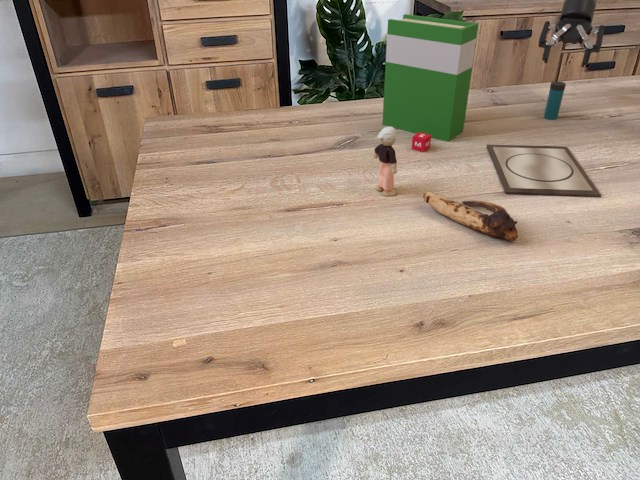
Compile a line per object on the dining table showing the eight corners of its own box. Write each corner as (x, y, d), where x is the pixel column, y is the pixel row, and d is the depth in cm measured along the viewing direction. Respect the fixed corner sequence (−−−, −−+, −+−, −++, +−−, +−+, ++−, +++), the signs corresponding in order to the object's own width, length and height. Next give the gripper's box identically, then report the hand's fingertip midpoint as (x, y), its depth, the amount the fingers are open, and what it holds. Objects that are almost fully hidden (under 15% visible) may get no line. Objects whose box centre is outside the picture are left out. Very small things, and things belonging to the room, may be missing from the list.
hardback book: (382, 124, 130) (388, 19, 116) (398, 115, 134) (405, 14, 121) (448, 141, 120) (462, 29, 107) (463, 131, 125) (478, 23, 112)
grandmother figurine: (405, 194, 100) (411, 130, 93) (390, 200, 98) (394, 135, 91) (379, 179, 105) (382, 118, 98) (363, 185, 103) (366, 122, 96)
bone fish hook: (533, 231, 89) (443, 193, 100) (540, 207, 87) (447, 170, 97) (505, 252, 84) (413, 210, 94) (512, 227, 81) (416, 186, 92)
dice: (423, 152, 116) (424, 139, 114) (411, 149, 117) (412, 136, 116) (430, 147, 118) (431, 134, 116) (418, 144, 119) (419, 131, 118)
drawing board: (566, 148, 116) (566, 145, 116) (600, 197, 98) (601, 194, 98) (486, 146, 118) (487, 143, 117) (505, 194, 100) (506, 191, 99)
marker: (555, 115, 133) (563, 81, 128) (559, 120, 130) (567, 85, 126) (541, 115, 133) (549, 81, 129) (545, 119, 131) (553, 85, 126)
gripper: (550, -7, 132) (534, 52, 130) (613, -3, 127) (598, 58, 125) (548, 12, 139) (533, 68, 137) (608, 16, 134) (593, 74, 132)
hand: (564, 63), depth 131 cm, fingers open, 8 cm apart
